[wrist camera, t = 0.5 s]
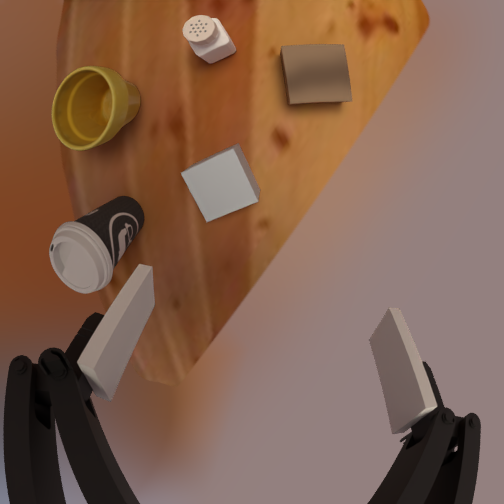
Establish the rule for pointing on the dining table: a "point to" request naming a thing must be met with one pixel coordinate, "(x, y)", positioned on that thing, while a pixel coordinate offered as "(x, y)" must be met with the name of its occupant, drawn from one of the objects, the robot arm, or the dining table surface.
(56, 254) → the coffee cup
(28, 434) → the robot arm
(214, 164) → the grey-blue block
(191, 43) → the pepper shaker
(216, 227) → the dining table surface
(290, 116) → the dining table surface
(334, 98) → the walnut block
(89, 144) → the plant pot
